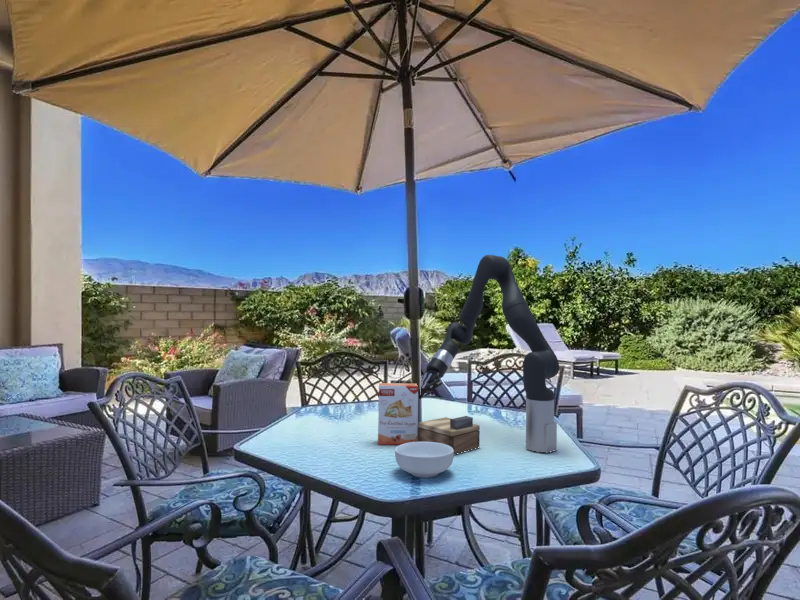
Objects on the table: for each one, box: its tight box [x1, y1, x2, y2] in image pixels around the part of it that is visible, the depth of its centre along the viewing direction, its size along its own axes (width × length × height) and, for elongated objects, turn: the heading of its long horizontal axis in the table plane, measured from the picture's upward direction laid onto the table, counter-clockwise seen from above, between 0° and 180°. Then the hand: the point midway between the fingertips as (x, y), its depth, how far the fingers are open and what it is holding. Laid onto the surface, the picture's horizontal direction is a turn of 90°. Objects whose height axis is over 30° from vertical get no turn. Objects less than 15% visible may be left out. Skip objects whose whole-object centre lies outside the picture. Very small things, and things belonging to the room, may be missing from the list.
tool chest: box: [417, 427, 481, 455], centre depth 163 cm, size 16×14×6 cm
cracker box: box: [377, 382, 419, 446], centre depth 167 cm, size 14×6×21 cm, turn 91°
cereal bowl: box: [394, 441, 455, 479], centre depth 136 cm, size 17×17×7 cm
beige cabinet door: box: [418, 415, 481, 436], centre depth 163 cm, size 16×14×4 cm
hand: (417, 397), depth 178 cm, fingers closed
